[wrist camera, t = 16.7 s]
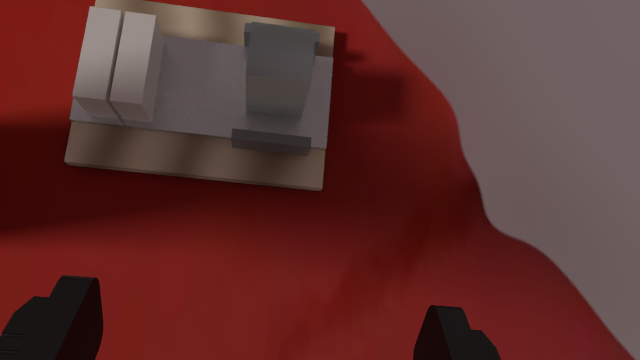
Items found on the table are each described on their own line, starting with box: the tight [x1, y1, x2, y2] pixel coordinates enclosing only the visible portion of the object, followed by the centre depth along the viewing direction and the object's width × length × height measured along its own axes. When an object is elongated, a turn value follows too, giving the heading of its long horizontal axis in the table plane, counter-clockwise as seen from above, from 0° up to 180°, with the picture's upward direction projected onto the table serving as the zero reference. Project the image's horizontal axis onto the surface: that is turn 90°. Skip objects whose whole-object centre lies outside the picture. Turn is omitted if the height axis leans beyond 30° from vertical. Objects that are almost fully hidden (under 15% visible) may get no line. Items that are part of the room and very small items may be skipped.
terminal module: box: [246, 21, 316, 117], centre depth 39 cm, size 4×4×7 cm
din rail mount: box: [64, 0, 335, 191], centre depth 41 cm, size 20×14×6 cm
